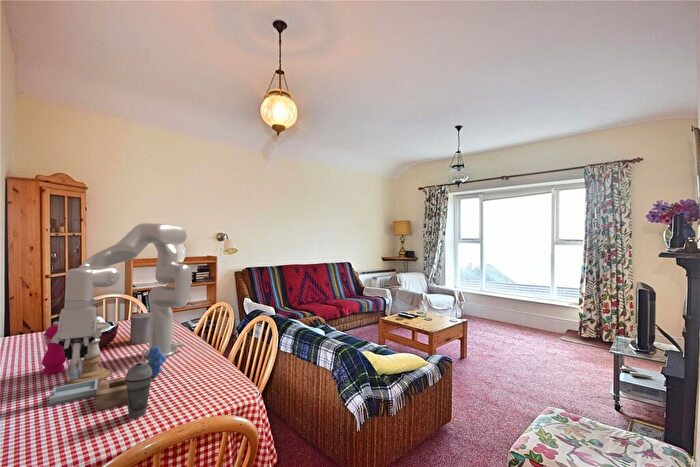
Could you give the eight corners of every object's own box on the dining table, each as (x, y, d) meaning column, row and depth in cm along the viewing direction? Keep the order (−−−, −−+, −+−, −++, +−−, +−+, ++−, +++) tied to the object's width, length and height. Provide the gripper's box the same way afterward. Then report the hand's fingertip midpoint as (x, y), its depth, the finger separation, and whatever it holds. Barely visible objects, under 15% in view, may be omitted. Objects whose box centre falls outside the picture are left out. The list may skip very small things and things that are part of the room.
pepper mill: (50, 376, 123) (53, 324, 123) (36, 374, 125) (38, 322, 125) (70, 369, 130) (72, 319, 131) (56, 367, 132) (58, 318, 132)
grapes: (171, 377, 125) (172, 346, 125) (152, 383, 120) (153, 351, 120) (161, 368, 133) (162, 340, 133) (142, 373, 128) (143, 343, 128)
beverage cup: (132, 408, 103) (134, 345, 103) (155, 407, 103) (158, 345, 104) (117, 420, 95) (120, 353, 96) (143, 420, 96) (146, 353, 96)
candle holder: (64, 388, 114) (66, 331, 115) (74, 374, 125) (77, 323, 126) (106, 381, 120) (108, 328, 120) (113, 369, 131) (115, 320, 131)
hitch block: (135, 388, 116) (136, 374, 116) (137, 401, 107) (138, 386, 107) (96, 396, 109) (97, 382, 109) (95, 411, 100) (96, 395, 100)
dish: (97, 385, 117) (98, 379, 117) (96, 396, 109) (97, 388, 109) (53, 394, 109) (53, 387, 109) (49, 406, 102) (49, 398, 102)
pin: (81, 374, 111) (83, 335, 112) (80, 377, 109) (83, 338, 109) (69, 376, 109) (71, 337, 110) (68, 380, 107) (70, 339, 107)
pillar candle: (131, 339, 168) (132, 311, 168) (153, 337, 173) (153, 309, 173) (128, 345, 160) (129, 315, 160) (151, 343, 164) (152, 313, 164)
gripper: (108, 300, 118) (106, 350, 117) (48, 304, 108) (45, 359, 107) (108, 304, 112) (106, 356, 111) (44, 308, 102) (41, 366, 101)
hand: (76, 357), depth 109 cm, fingers closed on pin, 3 cm apart
